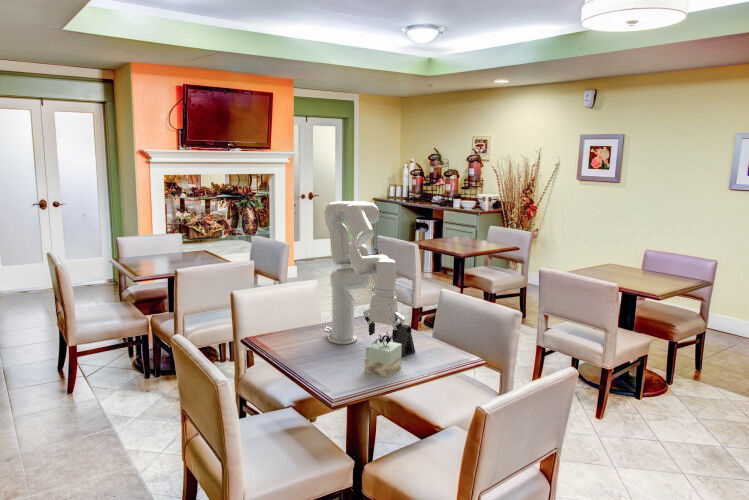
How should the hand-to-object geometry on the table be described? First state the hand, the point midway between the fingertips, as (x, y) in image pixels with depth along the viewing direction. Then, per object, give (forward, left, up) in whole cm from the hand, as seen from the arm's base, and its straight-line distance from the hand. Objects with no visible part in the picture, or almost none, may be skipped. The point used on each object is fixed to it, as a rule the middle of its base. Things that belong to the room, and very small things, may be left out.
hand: (383, 336), depth 202 cm
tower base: (0, 0, -13) cm, 13 cm away
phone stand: (-1, +20, -13) cm, 24 cm away
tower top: (0, 0, -8) cm, 8 cm away
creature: (0, -1, -4) cm, 4 cm away
